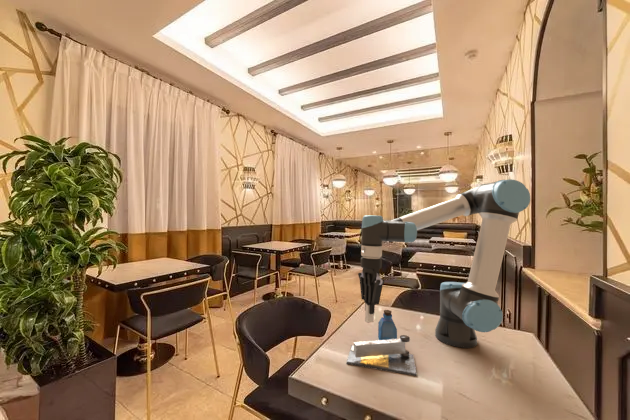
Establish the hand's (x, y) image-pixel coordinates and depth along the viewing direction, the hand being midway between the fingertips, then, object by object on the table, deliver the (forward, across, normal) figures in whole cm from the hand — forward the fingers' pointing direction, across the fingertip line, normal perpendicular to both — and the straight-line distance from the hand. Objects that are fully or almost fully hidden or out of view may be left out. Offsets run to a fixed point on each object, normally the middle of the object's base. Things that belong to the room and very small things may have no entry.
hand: (369, 321), depth 95 cm
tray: (+11, +6, +1) cm, 13 cm away
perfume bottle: (+11, -4, +12) cm, 17 cm away
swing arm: (+9, +6, +1) cm, 11 cm away
